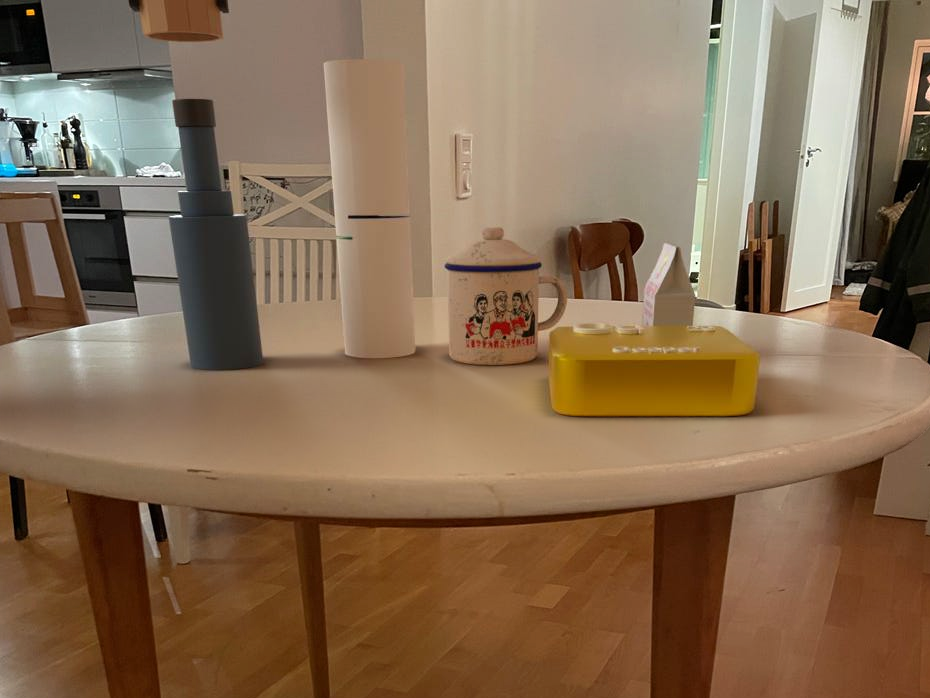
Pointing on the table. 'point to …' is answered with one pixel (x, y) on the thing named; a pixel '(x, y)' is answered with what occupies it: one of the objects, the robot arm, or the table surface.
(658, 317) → the milk carton
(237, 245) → the water bottle
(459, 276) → the teacup with lid
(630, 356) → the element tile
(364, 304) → the cylindrical container
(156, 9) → the light wood cylinder
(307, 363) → the table surface
